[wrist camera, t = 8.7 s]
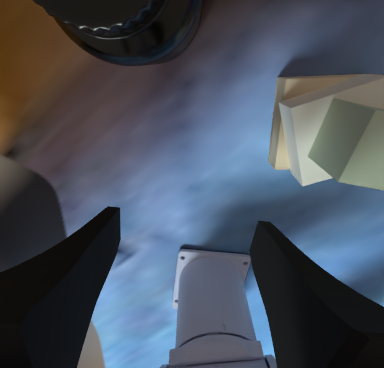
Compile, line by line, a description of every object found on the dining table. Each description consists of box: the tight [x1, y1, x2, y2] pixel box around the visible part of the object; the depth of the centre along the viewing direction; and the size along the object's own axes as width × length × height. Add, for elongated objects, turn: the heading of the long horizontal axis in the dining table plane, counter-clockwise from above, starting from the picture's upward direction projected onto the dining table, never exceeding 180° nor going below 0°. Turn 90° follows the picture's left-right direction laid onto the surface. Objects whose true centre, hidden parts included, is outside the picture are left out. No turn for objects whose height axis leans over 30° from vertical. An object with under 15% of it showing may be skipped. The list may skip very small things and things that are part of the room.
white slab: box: [279, 74, 384, 186], centre depth 18 cm, size 6×6×2 cm
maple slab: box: [268, 74, 380, 170], centre depth 20 cm, size 7×7×2 cm
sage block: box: [308, 98, 384, 190], centre depth 15 cm, size 4×4×4 cm
